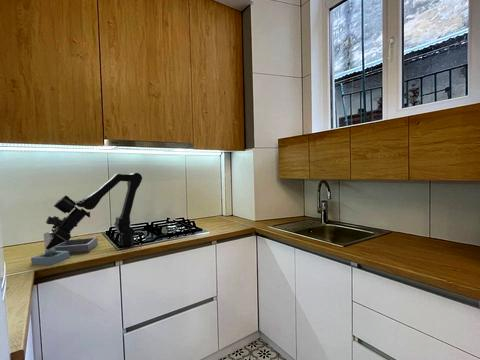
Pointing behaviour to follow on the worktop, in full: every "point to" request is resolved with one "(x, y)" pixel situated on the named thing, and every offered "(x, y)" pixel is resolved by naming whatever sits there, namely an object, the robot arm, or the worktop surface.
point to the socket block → (50, 258)
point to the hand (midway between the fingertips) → (46, 247)
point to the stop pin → (47, 238)
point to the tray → (78, 245)
